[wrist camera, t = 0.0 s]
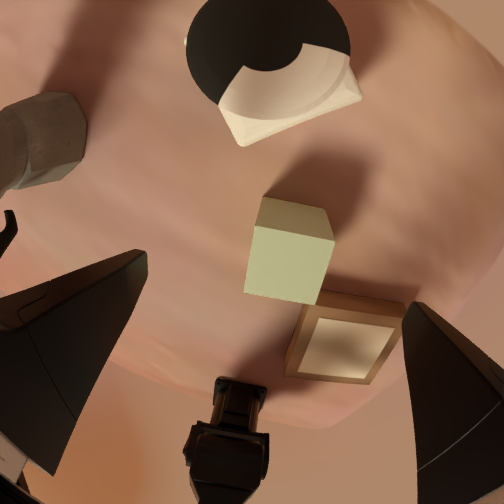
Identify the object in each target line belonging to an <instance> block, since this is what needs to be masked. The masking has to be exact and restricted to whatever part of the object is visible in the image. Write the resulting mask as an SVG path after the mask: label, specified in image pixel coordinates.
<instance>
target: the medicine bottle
mask: <svg viewBox="0 0 504 504" xmlns="http://www.w3.org/2000/svg"><path fill="white" fill-rule="evenodd" d="M184 44H185V46H186V57H187V62H188V67H189V69H190V72H191V75H192V77H193V79H194V80H195V82H196V84H197V85H198V87H199V88H200V89H201V91H202V92H203V93H204V94H205V95H206V96H207V97H208V98H209V99H210V100H212V101H213V102H214V103H216V104H217V105H218V107H219V109H220V111H221V113H222V114H223V116H224V118H225V120H226V122H227V124H228V126H229V128H230V130H231V132H232V134H233V136H234V138H235V140H236V142H237V143H238V144H239V146H242V147H245V146H248V145H250V144H252V143H255V142H257V141H259V140H261V139H264V138H266V137H268V136H270V135H273V134H275V133H277V132H280V131H282V130H285V129H287V128H289V127H292V126H294V125H297V124H299V123H302V122H304V121H307V120H309V119H312V118H314V117H317V116H320V115H322V114H325V113H328V112H330V111H333V110H336V109H339V108H342V107H344V106H347V105H350V104H353V103H356V102H359V101H360V100H362V97H363V94H362V91H361V89H360V87H359V84H358V82H357V80H356V78H355V76H354V73H353V71H352V69H351V67H350V65H349V60H350V40H349V35H348V32H347V28H346V26H345V24H344V22H343V20H342V18H341V16H340V15H339V13H338V12H337V10H336V9H335V8H334V7H333V6H332V5H331V4H330V3H329V2H328V1H327V0H208V1H207V2H206V3H205V4H204V5H203V6H202V8H201V9H200V10H199V11H198V13H197V14H196V16H195V17H194V19H193V22H192V24H191V26H190V29H189V32H188V35H187V37H185V39H184Z"/></svg>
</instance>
